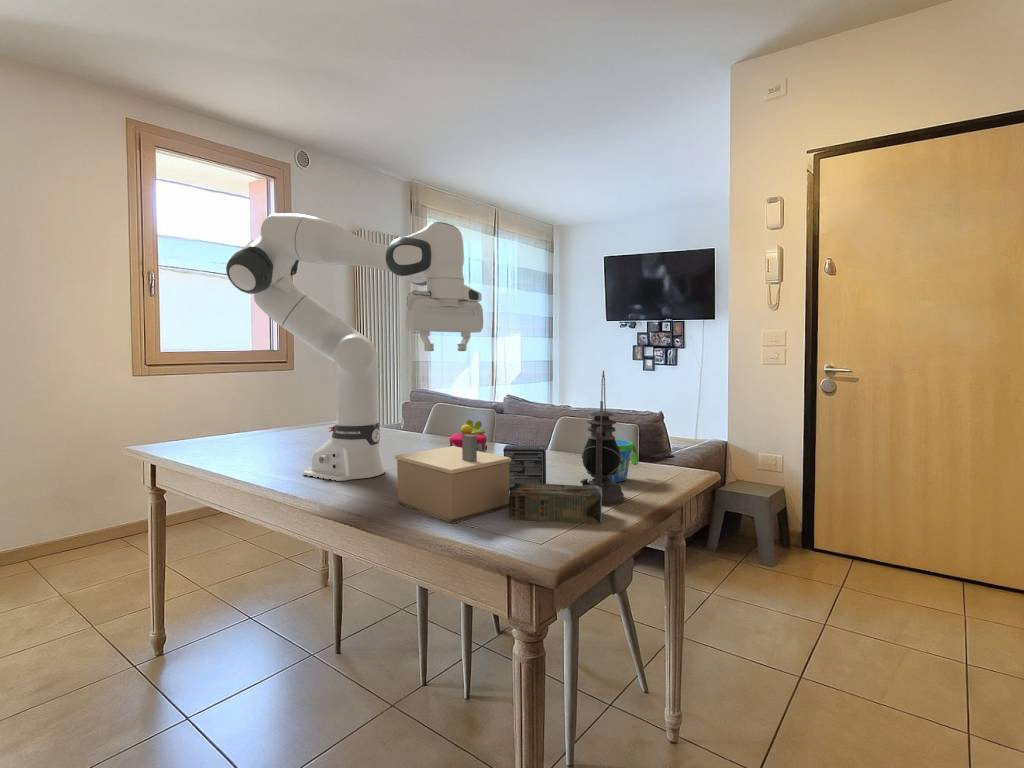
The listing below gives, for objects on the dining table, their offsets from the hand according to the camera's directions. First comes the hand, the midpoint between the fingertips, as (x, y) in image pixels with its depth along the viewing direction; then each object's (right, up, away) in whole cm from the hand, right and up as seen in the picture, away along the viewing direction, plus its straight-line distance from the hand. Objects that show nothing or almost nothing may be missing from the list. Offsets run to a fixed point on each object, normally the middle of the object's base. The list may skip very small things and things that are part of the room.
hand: (446, 351), depth 129 cm
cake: (+4, -33, +21) cm, 40 cm away
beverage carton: (+25, -36, -16) cm, 47 cm away
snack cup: (+42, -34, +15) cm, 56 cm away
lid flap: (+2, -25, -8) cm, 26 cm away
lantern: (+37, -35, -3) cm, 51 cm away
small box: (+19, -34, +8) cm, 40 cm away
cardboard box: (+2, -35, -8) cm, 36 cm away
